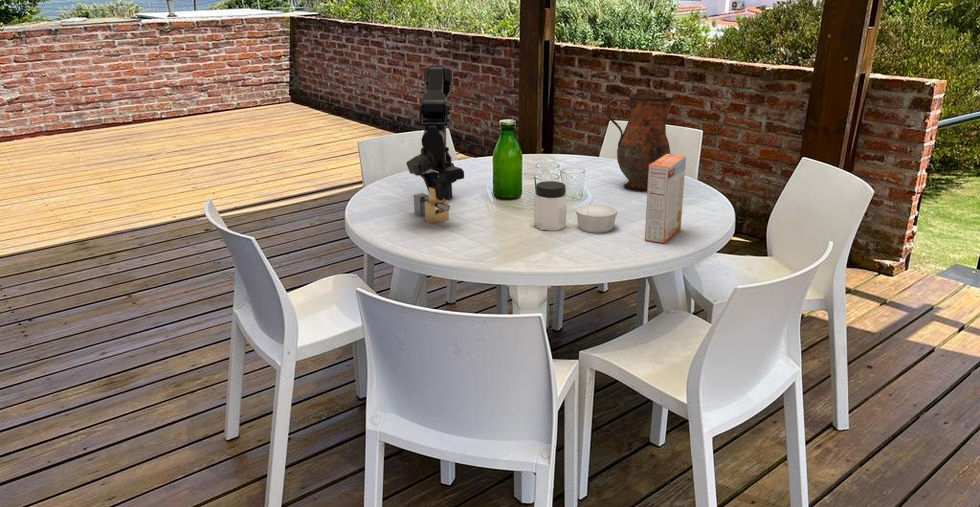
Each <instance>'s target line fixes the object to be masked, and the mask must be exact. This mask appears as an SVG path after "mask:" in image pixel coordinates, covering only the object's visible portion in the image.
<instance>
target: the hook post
mask: <svg viewBox="0 0 980 507" xmlns="http://www.w3.org/2000/svg"><path fill="white" fill-rule="evenodd" d="M426 201H429V194H426V193H423V192H421V193H417V194H413V203H414V204H413V206H414V211H413V212H414V215H416V216H417V217H421V218H422V217H425V202H426ZM430 202H431V201H430ZM433 203H434V202H433ZM435 208H437V209H438V208H439V209H442V210H445V211H449V212H450V209H451V205H450V204H448V205H447V204H444V203H442V202H439V203H435Z"/></svg>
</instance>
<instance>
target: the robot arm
mask: <svg viewBox="0 0 980 507" xmlns="http://www.w3.org/2000/svg"><path fill="white" fill-rule="evenodd" d="M453 76H454V74H453V70H452V69H451V68H450V69H449V68H447V67H446V65H441V64H440V65H438V64H436V65H429V66H428V67H427V68H426V69H424V70H423V85H424V86H425V87H426V92H425V93H424V94H422V96H421V97H422V98H421V101H420V102H419V112H418V113H419V115H418V116H419V117H418V118H419V119H418V124H419V127H420V126H421V127H423V134H422V137H421V145H422V147H421V149H420V154H418V155H415V156H413V157H412V158H411V159H408V161H406V166H407V168H408V169H407V170H408V172H409V174H410V175H415V176H420V177H421V178H422V180H423V182H424V184H425V187H426V189H427V192H428V193H429V187H431V186H436V185H437V189H438V197H439V201H442V200H443V199H446V200H448V201H450V200H451V199H453V184H454V183H455V182H457V181H458V180H464V179H465V171H464V170H463V168H461V167H458V166H455V164H454V163H453V160H452V159H453V158H452V156H451V154H450V153H449V151H450V148H449V147H447V126H449V123H451V105H450V103H449V101H447V98H448V97H449V95H450V93H451V88H452V86H453V85H454V77H453Z"/></svg>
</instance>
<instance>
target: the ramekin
mask: <svg viewBox="0 0 980 507" xmlns="http://www.w3.org/2000/svg"><path fill="white" fill-rule="evenodd" d="M575 214H576V218H577V225H578V227H579V228H580V230H582V231H583V232H587V233H594V234H595V233H596V234H600V233H606V232H607V233H608V232H610V231H611V230H613V228H614V226H615V221H616V218H617V215H618V209H617V208H615V207H613V206H610V205H607V204H606V205H605V204H585V205H581V206H578V207H577V208H576V209H575Z"/></svg>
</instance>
